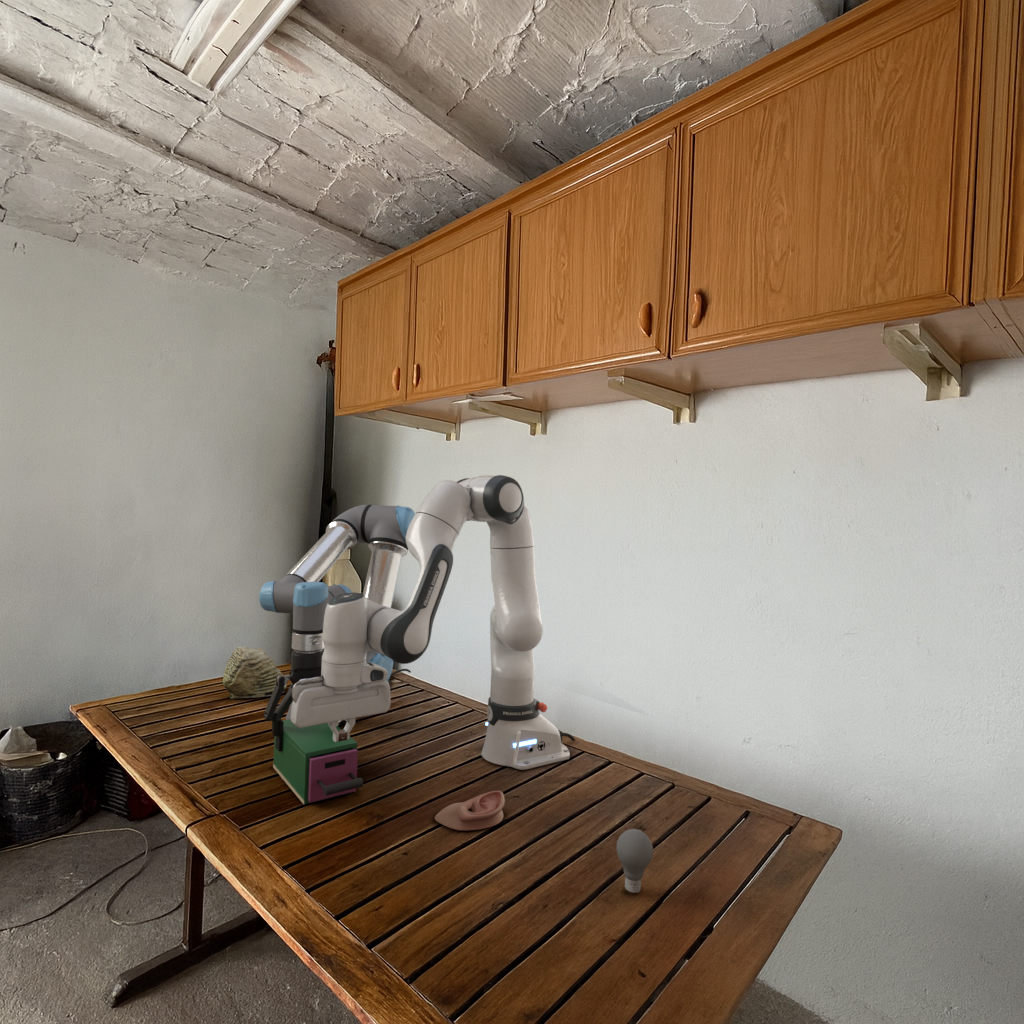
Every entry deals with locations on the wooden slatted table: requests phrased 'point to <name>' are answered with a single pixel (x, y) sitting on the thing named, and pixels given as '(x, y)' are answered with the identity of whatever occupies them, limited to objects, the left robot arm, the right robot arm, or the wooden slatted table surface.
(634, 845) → the light bulb
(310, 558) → the left robot arm
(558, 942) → the wooden slatted table surface
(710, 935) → the wooden slatted table surface
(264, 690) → the fossil
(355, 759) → the drawer
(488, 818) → the anatomical model
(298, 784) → the cabinet
